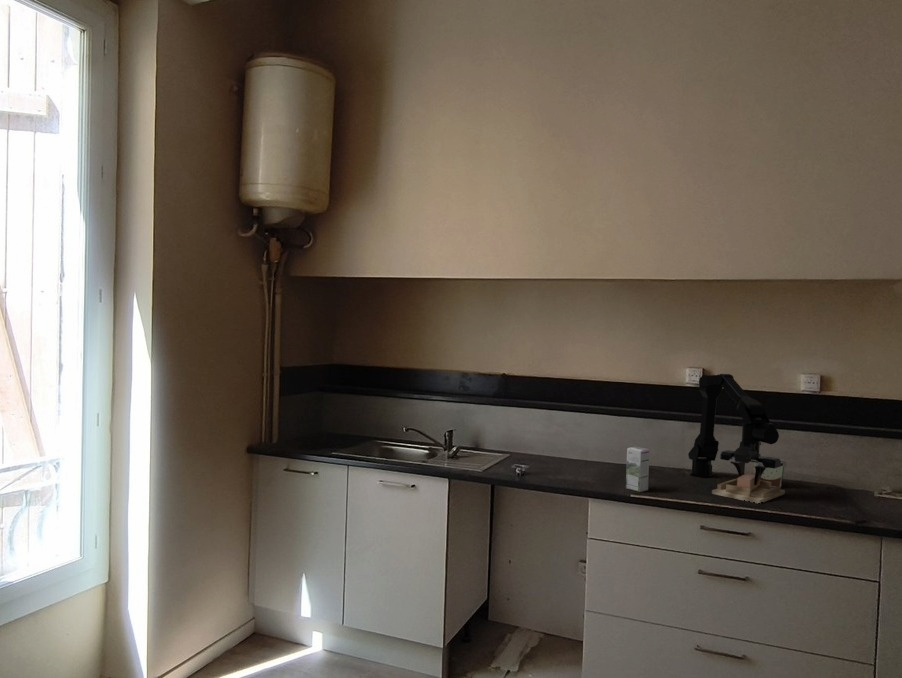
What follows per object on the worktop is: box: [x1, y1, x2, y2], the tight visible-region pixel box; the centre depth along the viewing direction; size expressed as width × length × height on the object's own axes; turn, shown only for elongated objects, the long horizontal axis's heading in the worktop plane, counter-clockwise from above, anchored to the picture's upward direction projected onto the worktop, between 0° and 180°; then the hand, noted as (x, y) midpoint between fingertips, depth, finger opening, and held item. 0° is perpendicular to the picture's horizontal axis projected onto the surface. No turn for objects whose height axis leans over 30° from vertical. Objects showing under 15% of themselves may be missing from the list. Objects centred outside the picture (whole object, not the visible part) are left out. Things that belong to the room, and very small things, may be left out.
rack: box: [711, 478, 786, 504], centre depth 228 cm, size 16×22×4 cm
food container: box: [752, 455, 787, 488], centre depth 244 cm, size 12×6×10 cm, turn 41°
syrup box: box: [625, 446, 650, 493], centre depth 228 cm, size 6×6×14 cm
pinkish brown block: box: [736, 471, 760, 490], centre depth 228 cm, size 4×14×4 cm, turn 141°
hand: (748, 483), depth 228 cm, fingers closed on pinkish brown block, 4 cm apart
